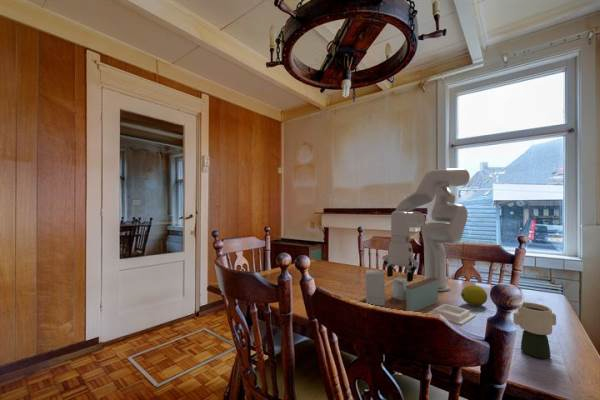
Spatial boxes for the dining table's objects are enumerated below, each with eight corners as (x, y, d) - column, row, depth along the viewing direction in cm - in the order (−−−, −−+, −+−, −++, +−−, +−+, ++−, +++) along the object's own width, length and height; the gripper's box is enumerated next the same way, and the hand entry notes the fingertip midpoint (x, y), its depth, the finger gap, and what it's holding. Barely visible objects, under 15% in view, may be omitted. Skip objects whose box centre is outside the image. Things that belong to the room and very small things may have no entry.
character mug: (545, 347, 78) (544, 302, 78) (568, 362, 71) (567, 311, 71) (505, 346, 79) (504, 301, 79) (524, 361, 72) (523, 311, 72)
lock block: (399, 295, 124) (399, 277, 124) (409, 298, 120) (409, 279, 120) (392, 297, 120) (392, 279, 121) (403, 300, 116) (402, 282, 117)
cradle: (442, 306, 110) (442, 301, 110) (476, 316, 100) (476, 310, 100) (427, 314, 102) (427, 308, 102) (461, 325, 93) (461, 319, 93)
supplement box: (385, 305, 111) (384, 274, 111) (366, 304, 112) (365, 273, 113) (383, 299, 118) (382, 270, 118) (365, 298, 120) (365, 269, 120)
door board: (432, 300, 117) (432, 277, 117) (438, 301, 115) (437, 278, 115) (406, 311, 105) (406, 286, 105) (411, 313, 103) (411, 287, 103)
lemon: (479, 301, 115) (479, 282, 115) (493, 308, 107) (493, 288, 107) (454, 302, 114) (454, 283, 114) (467, 309, 106) (466, 288, 107)
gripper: (423, 241, 115) (423, 282, 115) (388, 237, 129) (387, 273, 129) (413, 242, 111) (413, 284, 110) (378, 237, 125) (377, 275, 124)
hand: (399, 278), depth 120 cm, fingers open, 9 cm apart
